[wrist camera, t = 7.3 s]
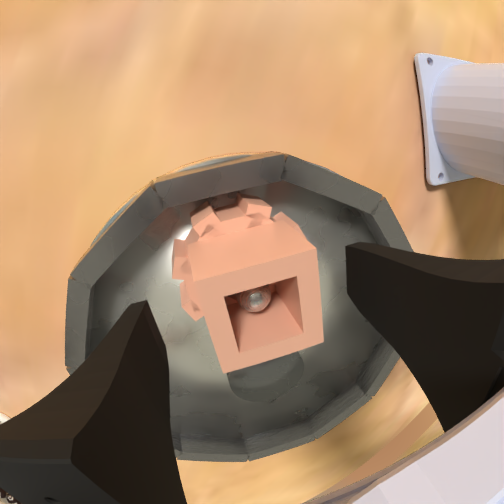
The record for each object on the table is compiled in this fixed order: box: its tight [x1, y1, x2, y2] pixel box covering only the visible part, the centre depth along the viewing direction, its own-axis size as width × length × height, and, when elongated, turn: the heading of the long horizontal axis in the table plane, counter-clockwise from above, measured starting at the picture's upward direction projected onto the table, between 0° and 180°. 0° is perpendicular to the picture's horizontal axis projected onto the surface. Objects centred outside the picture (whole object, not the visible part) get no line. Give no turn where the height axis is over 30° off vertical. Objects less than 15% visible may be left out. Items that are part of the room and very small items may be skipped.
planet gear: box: [172, 193, 324, 374], centre depth 12 cm, size 5×5×5 cm
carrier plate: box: [65, 151, 413, 462], centre depth 15 cm, size 19×19×5 cm
